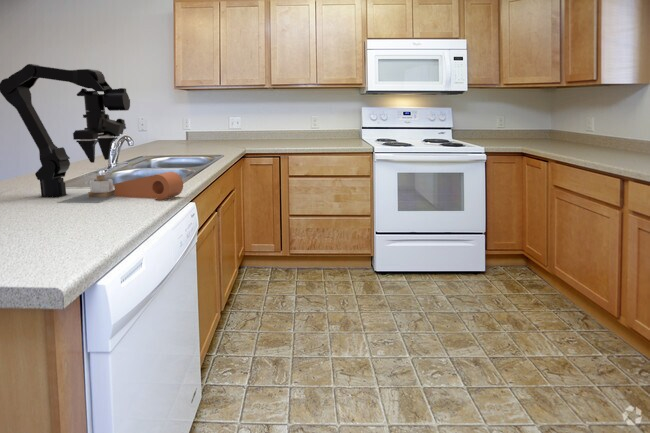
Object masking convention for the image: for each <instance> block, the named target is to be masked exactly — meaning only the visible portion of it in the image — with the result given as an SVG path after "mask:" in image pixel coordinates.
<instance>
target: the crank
mask: <svg viewBox="0 0 650 433" xmlns="http://www.w3.org/2000/svg"><path fill="white" fill-rule="evenodd" d="M183 189H184V181H183V179H182V177H181V176H180V175H179V173H177V172H174V171H168V172H163V173H159V174H154V175H149V176H144V177H140V178H134V179H130V180H125V181H121V182H116V183H113V190H115V196H117V197H118V198H119V197H121V198H122V197H123V198H138V199H139V198H140V199H143V198H144V199H154V201H163V200H167V199H170V198H173V197H176V196H177V197H178V196H179V195H180V194H181V193H182V191H183Z"/></svg>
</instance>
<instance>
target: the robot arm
mask: <svg viewBox="0 0 650 433" xmlns="http://www.w3.org/2000/svg"><path fill="white" fill-rule="evenodd" d="M39 79H46V80H52V81H53V80H54V81H61V82H67V83H70V84H74V85H76V86H80V87H82V88H81V89H80V91H78V92H77V93H76V96H77V97H83V100H84V109H85V114H82V118H84V119H85V122H86V127H83V129H75V131H74V132H72V136H73V140H74V141H75V142H76V143H78V145H79V146H80V148H81V149H82V151H83V153H84V154H85V156H86V157H87V159H88V160H89V162H90V163H92V164H93V163H95V158H96V145H97V144H98V146H99V149H100V151H101V154H102V156H103V159H104V160H105V161H107V160H109V159H110V154H111V150H112V147H113V143H114V142H115V141H116V140H118V138H119V137H120V135H123V134H124V130H126V129H127V126H126V121H125V119H123V118H117V119H116V120H115V119H110V114H108V113H106V109H107V110H108V111H110V112H112V111H113V112H115V111H116V112H118V111H123V112H124V111H125V112H126V111H129V110H130V108H131V99H130V97H129V94H128V91H127V88H124V87H122V88H112V86H110V84H109V83H108V82H107V80H106V77H105V75H104V73H103V72H102V71H100V70H99V69H90V68H82V69H80V68H79V69H65V68H63V69H62V68H58V67H57V68H55V67H50V66H42V65H39V64H34V63H28V64H26V65H25V66H24V67H23V66H22V68H21V69H19V70H17V71H16V72H14V73H12V74H11V75H10V76H8V77H6V78H3V79H2V80H1V81H0V94H1V96H2V97H3V98H4V99H5V100H6V102H8V103H9V104H10V105H11V106H13V108H14V109H16V111H17V113H18V114H19V117H20V118H21V121H22V122H23V124H24V126H25V127H26V129H27V131H28V133H29V135H30V136H31V138H32V139H33V142H34V143H35V145H36V147H37V149H38V151H39V153H38V154H39V155H38V156H39V162H40V163H41V166H40V168H38V170H37V171H36V172H35V174H34V175H35V177H36V179H37V180H38V181H39V185H40V193H41V194H40V195H41V196H39V198H56V199H57V198H60V197H65V196H67V195H68V194H67V188H66V182H65V180H64V178H65V177H66V173H67V171H68V170H69V168H70V166H71V162H70V159H71V157H70V156H68V154H67V152H66V149H65V147H63V146H62V147H58V146H56V144H54V142H53V140H52V138H51V136H50V134H49V133H48V130H47V129H46V127H45V125H44V124H43V121H42V120H41V117H40V116H39V114H38V112H37V110H36V109H35V107H34V105H33V103H32V93H31V90H30V89H31V88H33V87H34V86H35V84H36V82H37V81H38V80H39ZM87 89H92V90H87ZM99 92H101V93H99Z"/></svg>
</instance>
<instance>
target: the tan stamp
mask: <svg viewBox="0 0 650 433" xmlns="http://www.w3.org/2000/svg"><path fill="white" fill-rule="evenodd" d="M105 175H106V174H105ZM105 175H104V174H99V175H96V179H97V181H105V179H106V176H105ZM87 194H88V196H89V197H109V196H112V195H115V189H113V191H110V192H102V193H93V192H90V191H88V192H87Z"/></svg>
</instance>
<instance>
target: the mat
mask: <svg viewBox="0 0 650 433" xmlns="http://www.w3.org/2000/svg"><path fill="white" fill-rule="evenodd" d="M117 197H118V196H115V195H112V196H109V197H89V196H88V193H84V194H81V195H77V196H73V197H70V198H67V199H64V200H61V201H57V202H56V203H59V204H62V203H63V204H64V203H65V204H100V203H102V202H105V201H108V200H111V199H114V198H117Z"/></svg>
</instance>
